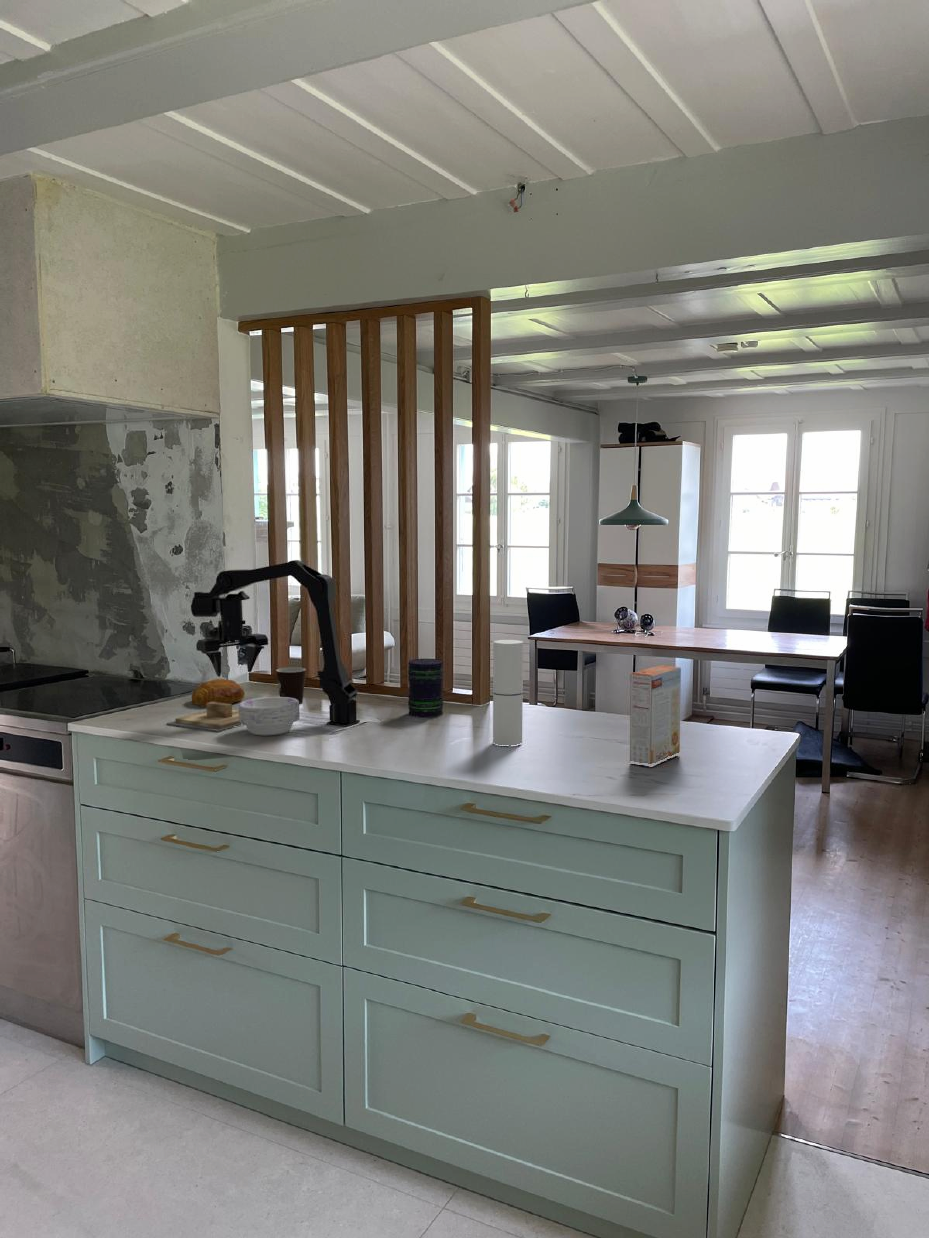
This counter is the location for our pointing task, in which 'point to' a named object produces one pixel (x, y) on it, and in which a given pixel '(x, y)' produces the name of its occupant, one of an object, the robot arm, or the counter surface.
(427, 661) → the storage jar
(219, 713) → the oak lid
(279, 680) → the coffee mug
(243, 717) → the paper bowls
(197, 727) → the mat
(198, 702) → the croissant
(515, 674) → the cylindrical container
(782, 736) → the counter surface
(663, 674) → the cracker box
